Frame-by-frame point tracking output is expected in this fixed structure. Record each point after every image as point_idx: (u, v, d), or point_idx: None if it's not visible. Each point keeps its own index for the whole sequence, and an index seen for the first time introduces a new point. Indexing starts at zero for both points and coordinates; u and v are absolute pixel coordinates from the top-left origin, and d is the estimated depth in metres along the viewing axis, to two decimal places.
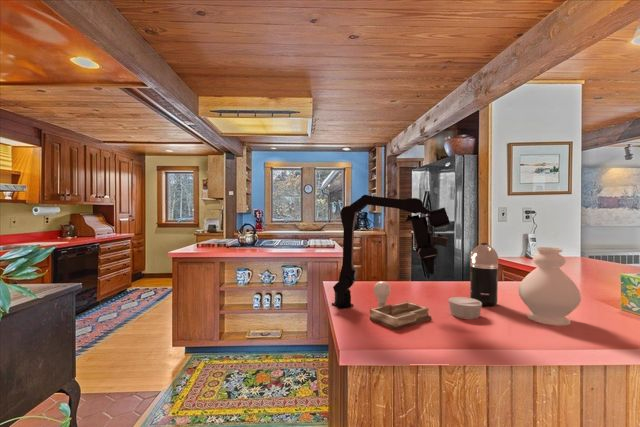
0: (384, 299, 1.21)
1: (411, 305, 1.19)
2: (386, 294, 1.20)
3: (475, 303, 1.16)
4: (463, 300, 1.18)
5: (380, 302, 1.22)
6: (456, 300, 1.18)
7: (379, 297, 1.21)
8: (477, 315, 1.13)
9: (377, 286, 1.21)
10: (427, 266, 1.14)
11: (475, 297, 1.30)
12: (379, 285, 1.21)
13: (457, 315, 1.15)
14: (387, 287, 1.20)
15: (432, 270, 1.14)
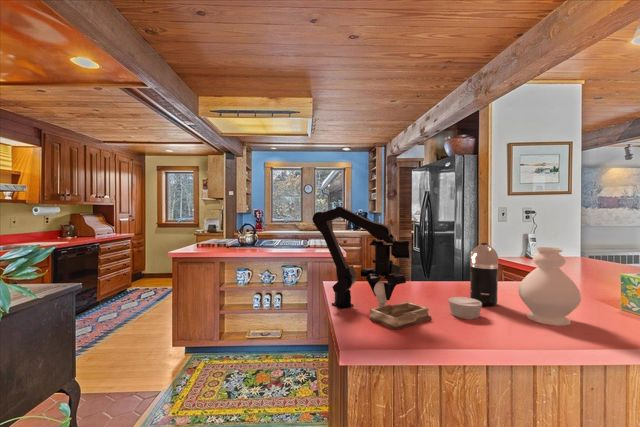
0: (384, 299, 1.21)
1: (411, 305, 1.19)
2: None
3: (475, 303, 1.16)
4: (463, 300, 1.18)
5: (380, 302, 1.22)
6: (456, 300, 1.18)
7: (379, 297, 1.21)
8: (477, 315, 1.13)
9: (377, 286, 1.21)
10: (388, 292, 1.19)
11: (475, 297, 1.30)
12: (379, 285, 1.21)
13: (457, 315, 1.15)
14: None
15: (390, 296, 1.20)
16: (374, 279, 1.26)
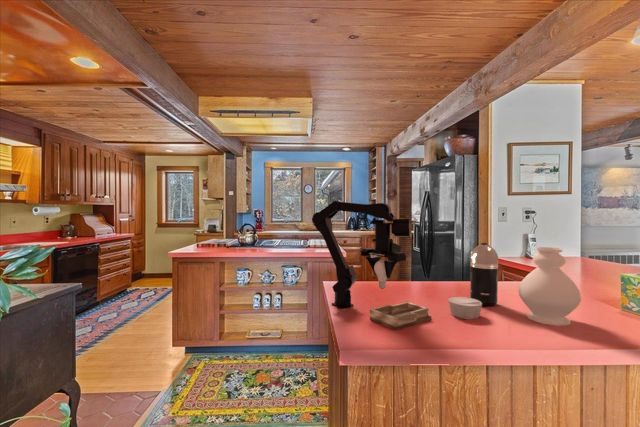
0: (384, 277, 1.21)
1: (411, 305, 1.19)
2: None
3: (475, 303, 1.16)
4: (463, 300, 1.18)
5: (380, 280, 1.22)
6: (456, 300, 1.18)
7: (379, 275, 1.21)
8: (477, 315, 1.13)
9: (377, 264, 1.21)
10: (388, 270, 1.19)
11: (475, 297, 1.30)
12: (379, 263, 1.21)
13: (457, 315, 1.15)
14: None
15: (390, 274, 1.20)
16: (374, 258, 1.25)
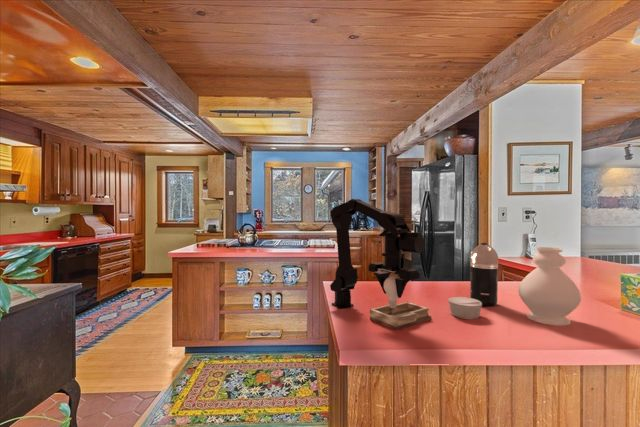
0: (395, 296, 1.09)
1: (411, 305, 1.19)
2: None
3: (475, 303, 1.16)
4: (463, 300, 1.18)
5: (390, 300, 1.09)
6: (456, 300, 1.18)
7: (389, 294, 1.09)
8: (477, 315, 1.13)
9: (387, 282, 1.09)
10: (400, 289, 1.06)
11: (475, 297, 1.30)
12: (390, 281, 1.08)
13: (457, 315, 1.15)
14: None
15: (401, 293, 1.07)
16: (383, 274, 1.13)
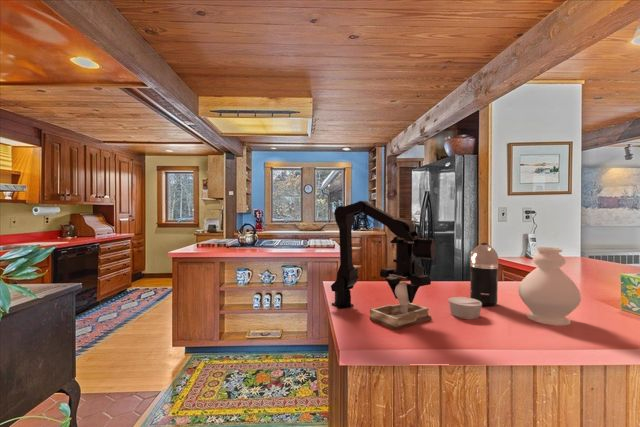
0: (406, 302, 1.12)
1: (411, 305, 1.19)
2: None
3: (475, 303, 1.16)
4: (463, 300, 1.18)
5: (402, 305, 1.12)
6: (456, 300, 1.18)
7: (401, 299, 1.12)
8: (477, 315, 1.13)
9: (399, 287, 1.12)
10: (411, 294, 1.09)
11: (475, 297, 1.30)
12: (401, 286, 1.12)
13: (457, 315, 1.15)
14: None
15: (413, 298, 1.11)
16: (395, 280, 1.16)
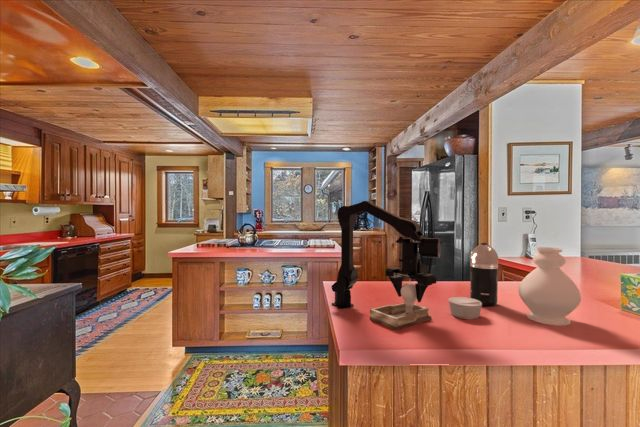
0: (412, 302, 1.14)
1: None
2: (414, 297, 1.12)
3: (475, 303, 1.16)
4: (463, 300, 1.18)
5: (407, 305, 1.14)
6: (456, 300, 1.18)
7: (406, 300, 1.14)
8: (477, 315, 1.13)
9: (405, 288, 1.13)
10: (420, 294, 1.10)
11: (475, 297, 1.30)
12: (407, 287, 1.13)
13: (457, 315, 1.15)
14: (415, 290, 1.13)
15: (421, 298, 1.11)
16: (398, 278, 1.19)
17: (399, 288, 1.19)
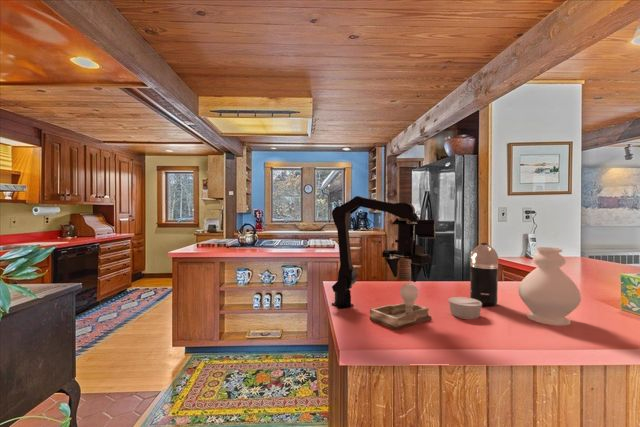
0: (411, 302, 1.14)
1: None
2: (414, 297, 1.12)
3: (475, 303, 1.16)
4: (463, 300, 1.18)
5: (407, 306, 1.14)
6: (456, 300, 1.18)
7: (406, 300, 1.14)
8: (477, 315, 1.13)
9: (404, 288, 1.13)
10: (415, 273, 1.13)
11: (475, 297, 1.30)
12: (406, 287, 1.13)
13: (457, 315, 1.15)
14: (415, 290, 1.13)
15: (416, 277, 1.14)
16: (393, 259, 1.22)
17: (395, 269, 1.22)
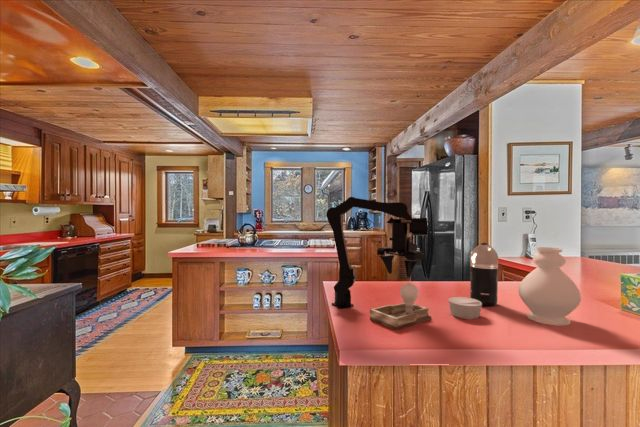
0: (411, 302, 1.14)
1: None
2: (414, 297, 1.12)
3: (475, 303, 1.16)
4: (463, 300, 1.18)
5: (407, 306, 1.14)
6: (456, 300, 1.18)
7: (406, 300, 1.14)
8: (477, 315, 1.13)
9: (404, 288, 1.13)
10: (409, 269, 1.18)
11: (475, 297, 1.30)
12: (406, 287, 1.13)
13: (457, 315, 1.15)
14: (415, 290, 1.13)
15: (410, 273, 1.19)
16: (388, 257, 1.27)
17: (389, 266, 1.27)
